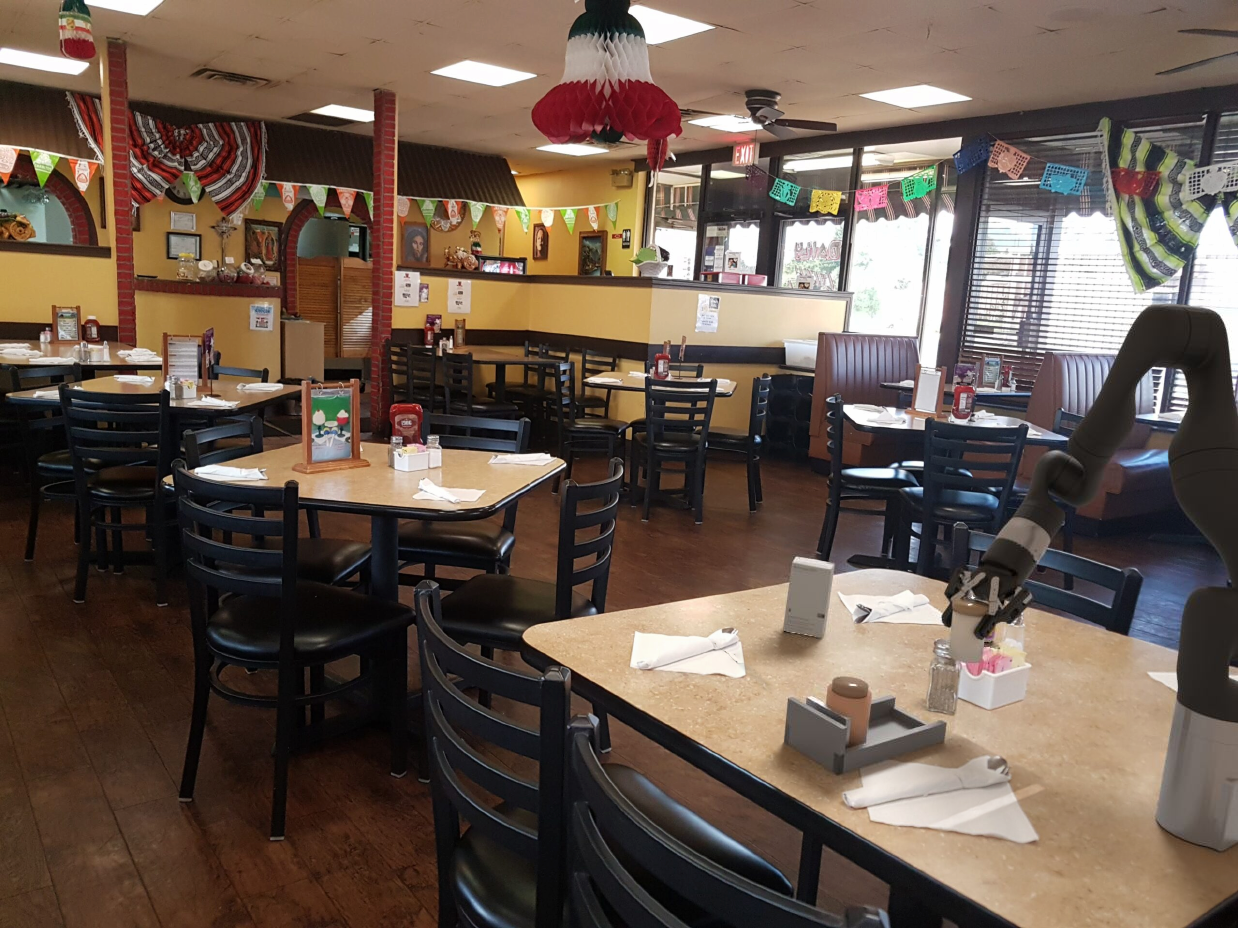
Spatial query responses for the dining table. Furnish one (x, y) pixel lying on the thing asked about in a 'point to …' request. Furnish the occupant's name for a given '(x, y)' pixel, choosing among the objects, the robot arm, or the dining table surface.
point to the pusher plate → (831, 714)
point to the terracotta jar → (852, 705)
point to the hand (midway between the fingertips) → (961, 630)
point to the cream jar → (966, 630)
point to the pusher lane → (885, 738)
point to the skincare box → (808, 596)
